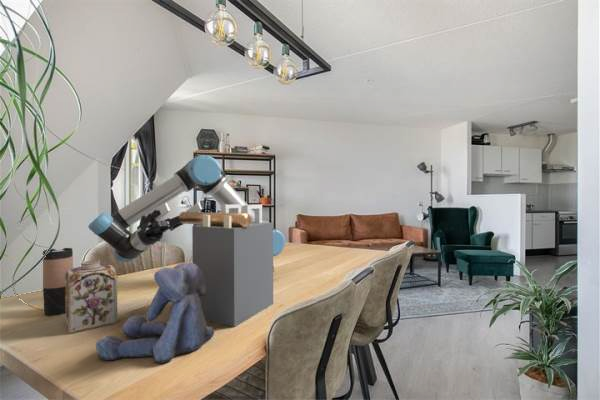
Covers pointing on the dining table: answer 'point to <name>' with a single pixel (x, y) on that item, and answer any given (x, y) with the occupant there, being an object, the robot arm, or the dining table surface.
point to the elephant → (160, 335)
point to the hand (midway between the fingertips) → (184, 206)
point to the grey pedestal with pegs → (234, 266)
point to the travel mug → (55, 280)
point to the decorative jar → (90, 296)
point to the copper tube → (215, 218)
